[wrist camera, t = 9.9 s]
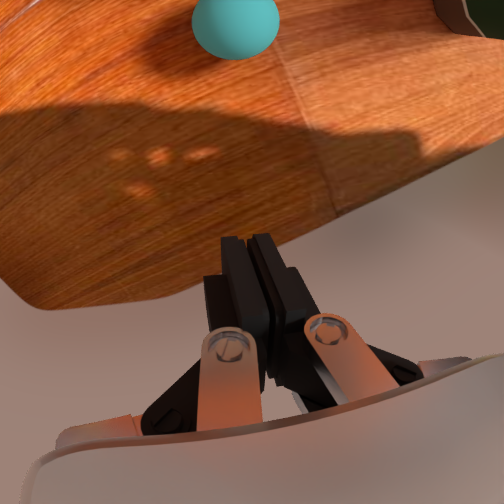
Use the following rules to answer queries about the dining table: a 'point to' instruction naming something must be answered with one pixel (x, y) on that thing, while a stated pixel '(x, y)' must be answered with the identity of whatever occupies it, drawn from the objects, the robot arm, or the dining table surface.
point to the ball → (235, 27)
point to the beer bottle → (473, 17)
